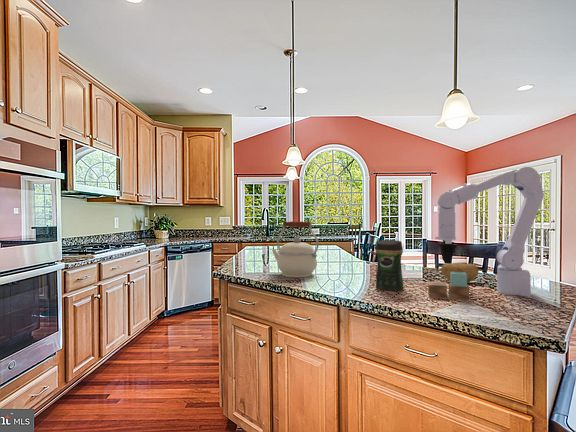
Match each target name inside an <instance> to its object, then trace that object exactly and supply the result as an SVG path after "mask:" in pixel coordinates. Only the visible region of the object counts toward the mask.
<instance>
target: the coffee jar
mask: <svg viewBox="0 0 576 432" xmlns="http://www.w3.org/2000/svg"><path fill="white" fill-rule="evenodd" d="M403 253H404V249H403V244H402V241H401V240H395V239H394V240H393V239H382V240H377V241H376V244H375V254H376V259H377V260H376V261H377V262H376V266H377V267H376V275H375V288H376V290H382V291H390V292H391V291H392V292H401V291H402V290H404V281H403V273H402V255H403Z"/></svg>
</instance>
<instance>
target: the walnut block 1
mask: <svg viewBox="0 0 576 432" xmlns="http://www.w3.org/2000/svg"><path fill="white" fill-rule="evenodd" d="M427 293H428V296H429V297H428V298H430V297H436V298H435V299H444V298H447V296H448V285H447V284H446V282H439V281H438V282H437V281H436V282H435V281H428V282H427Z"/></svg>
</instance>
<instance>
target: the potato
mask: <svg viewBox="0 0 576 432" xmlns="http://www.w3.org/2000/svg"><path fill="white" fill-rule="evenodd" d="M440 270H441V271H440V272H441V274H442V275H443V276H444V278H446V279H447V280H448V281H450V272H465V273H466V274H467V283H470V282H472V281H474V280H475V279H476V278H477V277H478V275H479V268H478V266H477V265H475V264H473V263H464V262H455V263H453V262H451V264H448V263H444V264H442V265H441V268H440Z"/></svg>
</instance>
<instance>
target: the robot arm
mask: <svg viewBox="0 0 576 432" xmlns="http://www.w3.org/2000/svg"><path fill="white" fill-rule="evenodd" d="M541 179H542V177H541V174H539V172H538V171H537V170H536V169H535V168H533V167H531V166H524V167H521V168H519V169H514V170H509V171H506V172H503V173H500V174H497V175H495V176H493V177H491V178H488V179H485V180H484V181H481V182H479V183H476V184H474V183H471V182H469V183H466V182H465V183H462V184H461V186H459V187H457V188H454V189H452V188H451V189H449V190H448V191H446V192H444V193H442V194H440V195H439V197H438V199H437V205H438V206H439V207H438V213H437V216H438V217H437V218H438V219H437V220H438V222H437V223H438V225H437V226H438V230H437V231H438V233H437V234H438V236H435V237H434V239H435V240H440V241H437V244H438V246H439V249H440V253H441V257H442V261H443V262H444V264H447V263H448V264H451V263H453V262H452V261H453V256H454V252H455V250H456V248H457V246H458V245H457V244H455V242H454V240H455V241H456V240H457V237H456V211H455V210H456V209H455V207H456V205H461V204H464V203H466V202H468V201H471V200H473V199H476V198H477V197H478V196H479V193H482V192H484V191H486V190H490V189H493V188H495V187H497V186H501V185H504V186H512V187H514V188H515V189H517V190H518V191H519V192H520V193H521V195H522V196H523V197H524V199H523V201H522V203H521V206H520V208H519V211H518V213H517V216H516V218H515V220H514V221H515V222H514V224H513V226H512V229H511V231H510V233H509V236H508V238H507V240H506V242H504V244H503V247H501V249H500V250H499V251H498V252H497V253H496V260H497V263H499V264H498V266H497V282H496V283H497V287H496V288H497V292H498V293H499V294H503V295H508V296H509V295H510V296H521V297H529V298H531V297H532V296H531V295H532V294H531V293H532V292H531V287H532V286H531V285H532V284H531V273H530V271H529V270H528V269H523V268H522V266H523V264H524V253H525V244H526V243H527V242H526V241H527V238H528V237H529V234H530V231H531V229H532V226H533V224H534V221H535V220H536V216H537V214H538V212H539V209H540V207H541V205H542V203H543V200H544V198H545V197H544V196H545V194H544V193H545V192H544V190H543V186H542V182H541Z"/></svg>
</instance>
